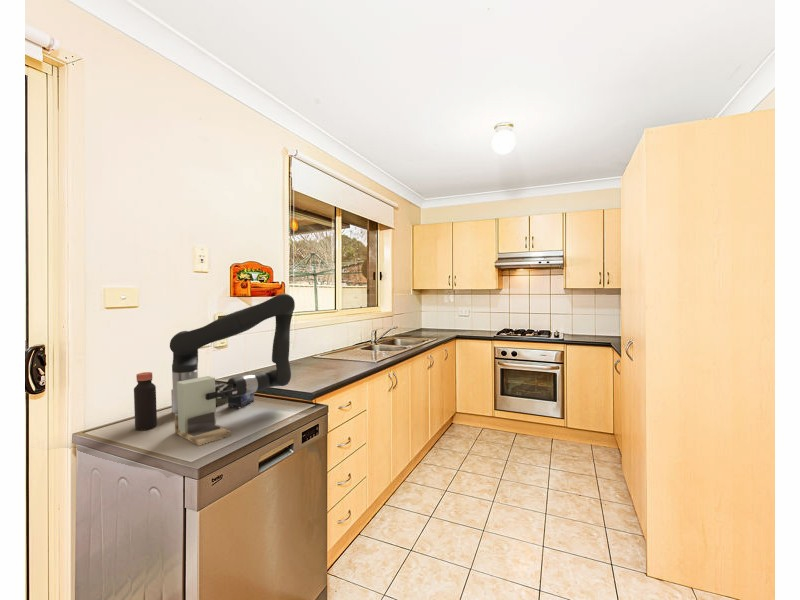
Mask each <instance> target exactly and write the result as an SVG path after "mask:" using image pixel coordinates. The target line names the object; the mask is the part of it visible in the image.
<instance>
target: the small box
mask: <svg viewBox="0 0 800 600" xmlns="http://www.w3.org/2000/svg"><path fill="white" fill-rule="evenodd" d="M252 401H253V402H254V401H255V392H253V393H251V394H247V395H243V396H239V397H235V398H232V397H228V403H227V407H228V408H236V407H241V408H243V407H245V406H247V405H249V404H251V403H253V402H252ZM250 402H251V403H250ZM248 403H249V404H248ZM246 404H247V405H246Z"/></svg>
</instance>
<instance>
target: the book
mask: <svg viewBox="0 0 800 600" xmlns="http://www.w3.org/2000/svg"><path fill="white" fill-rule="evenodd" d="M215 384H216V378H215V377H212V376H210V375H208V376H207V375H206V376H202V377H198V378H195V379H190V380H185V381H179V382H177V400H178V430H180V431H182V432H184V433H186V432H188V419H189V418H193V417H196V416H200V415H204V414H208V413H212V412H215V424H216V425H217V406H216V398H214V399H210V400H206V394H207V393H212V392H215Z"/></svg>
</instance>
